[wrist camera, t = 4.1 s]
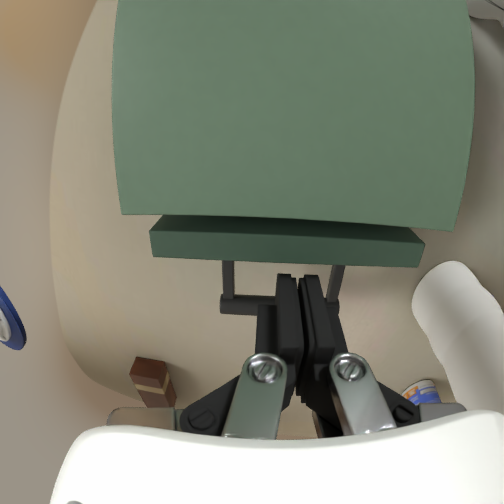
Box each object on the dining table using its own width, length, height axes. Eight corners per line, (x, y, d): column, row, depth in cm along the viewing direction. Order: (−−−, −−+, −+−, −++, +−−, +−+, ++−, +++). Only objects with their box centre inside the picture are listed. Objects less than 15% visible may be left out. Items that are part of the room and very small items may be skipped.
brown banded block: (152, 392, 31) (147, 408, 29) (135, 356, 28) (128, 374, 25) (177, 397, 31) (173, 413, 29) (164, 361, 27) (158, 379, 25)
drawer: (351, 276, 20) (382, 353, 13) (200, 270, 20) (172, 349, 13) (377, 17, 11) (439, -22, 4) (197, 3, 11) (153, -53, 4)
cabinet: (373, 173, 17) (453, 232, 9) (188, 163, 17) (121, 215, 9) (378, -12, 10) (445, -66, 2) (194, -26, 10) (145, -98, 2)
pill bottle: (407, 382, 29) (427, 442, 20) (438, 375, 28) (460, 430, 20) (394, 402, 31) (408, 457, 23) (423, 395, 31) (440, 446, 22)
